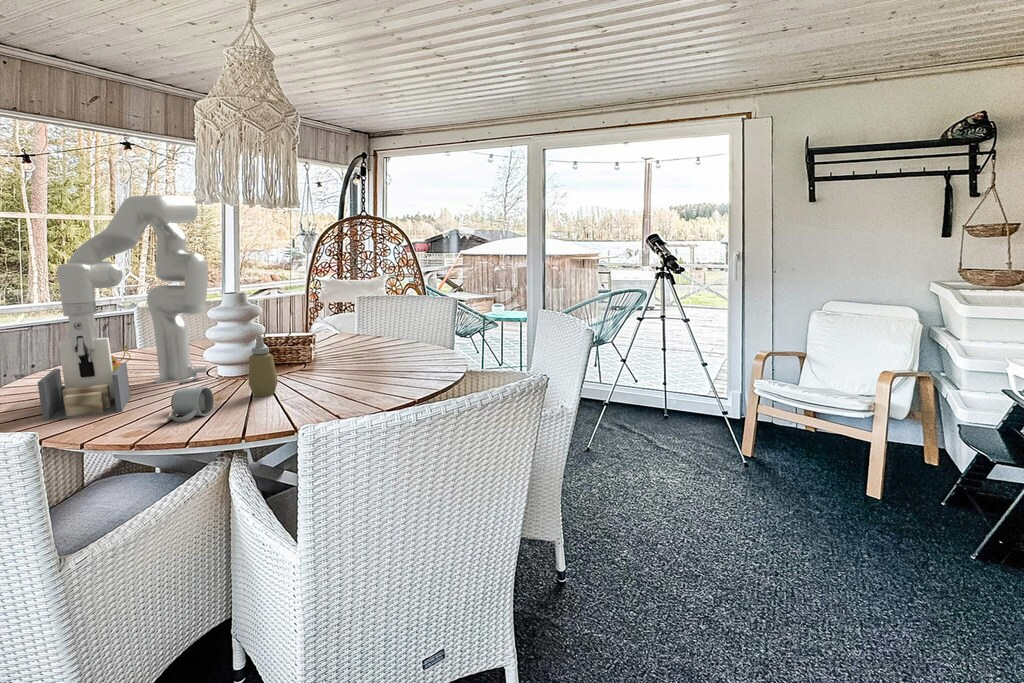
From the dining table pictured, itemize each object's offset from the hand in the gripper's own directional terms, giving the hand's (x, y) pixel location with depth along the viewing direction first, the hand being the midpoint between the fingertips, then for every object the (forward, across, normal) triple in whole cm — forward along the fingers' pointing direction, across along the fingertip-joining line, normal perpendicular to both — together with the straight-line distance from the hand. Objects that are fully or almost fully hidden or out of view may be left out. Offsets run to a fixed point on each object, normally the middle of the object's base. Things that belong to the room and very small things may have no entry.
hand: (89, 374), depth 169 cm
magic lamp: (+10, +48, +3) cm, 49 cm away
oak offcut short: (+8, -10, 0) cm, 13 cm away
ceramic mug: (+10, -22, -25) cm, 35 cm away
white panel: (+8, 0, 0) cm, 8 cm away
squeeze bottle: (+10, -6, -44) cm, 45 cm away
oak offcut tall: (+8, -6, 0) cm, 10 cm away
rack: (+10, -4, 0) cm, 11 cm away
